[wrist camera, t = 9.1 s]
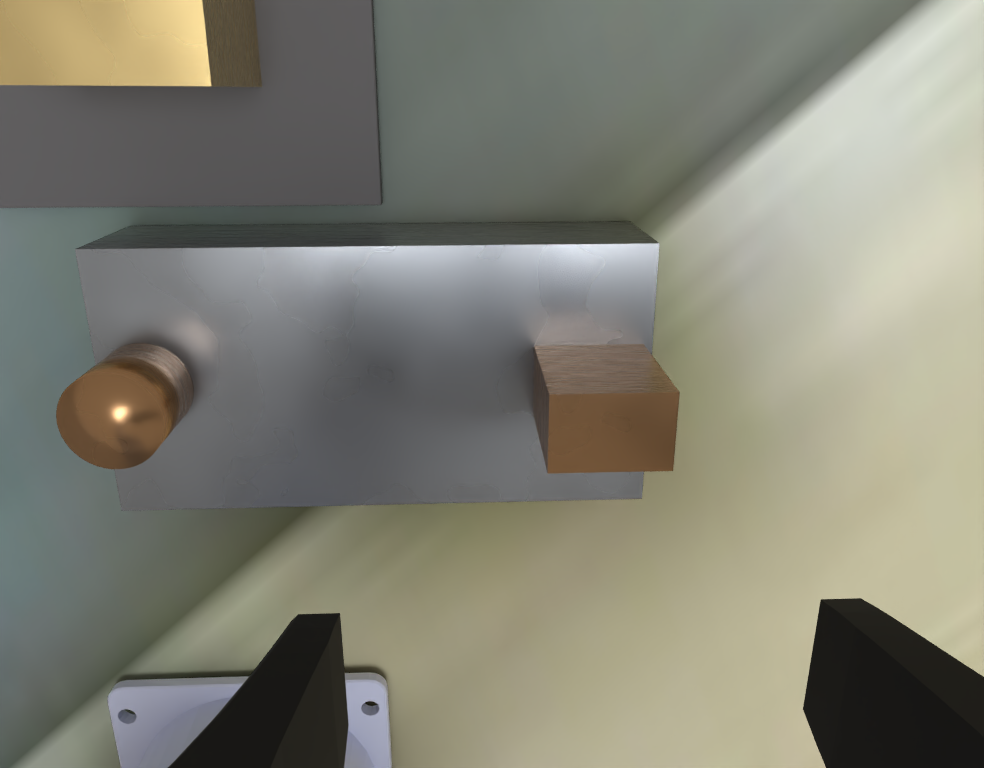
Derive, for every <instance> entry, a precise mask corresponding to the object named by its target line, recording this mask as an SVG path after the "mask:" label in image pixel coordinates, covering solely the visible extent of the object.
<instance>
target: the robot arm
mask: <svg viewBox="0 0 984 768" xmlns="http://www.w3.org/2000/svg"><path fill="white" fill-rule="evenodd" d="M368 701H373V702H375V703H377V705H374V706H369V705H366V704H365V702H368ZM108 707H109V712H110V717H111V721H112V726H113V731H114V736H115V741H116V746H117V751H118V756H119V761H120V765H121V768H392V755H391V737H390V719H389V702H388V685H387V682H386V680H385V679H384V678H383V677H382V676H381V675H379V674H377V673H370V672H368V673H345V672H344V659H343V646H342V634H341V621H340V613H332V614H298V615H297V616H296V617H295V618H294V619H293V620H292V621H291V622H290V624H289V625H288V626H287V628H286V629H285V630H284V632H283V633H282V634H281V636H280V637H279V638H278V640H277V641H276V643H275V644H274V645H273V647H272V648H271V649H270V650H269V652H268V653H267V654H266V656H265V657H264V658H263V660H262V661H261V662H260V663H259V665H258V666H257V667H256V668H255V670H254V671H253V672H252V674H251V675H250V676H242V677H210V678H178V679H147V680H125V681H120V682H118V683H117V684H115V685H114V687H113V688H112V690H111V692H110V694H109V695H108ZM124 709H128V710H132V711H133V712H135V714H131V713H128V712H126V711H125V710H124ZM803 710H804V713H805V715H806V718H807V721H808V723H809V726H810V728H811V731H812V734H813V736H814V739H815V742H816V744H817V747H818V749H819V752H820V754H821V756H822V759H823V761H824V764H825V766H826V768H984V677H983V676H982V675H980V674H978V673H977V672H975V671H974V670H972V669H971V668H969V667H968V666H966V665H964V664H963V663H961V662H960V661H958V660H957V659H955V658H954V657H952V656H951V655H949V654H948V653H946V652H945V651H943V650H941V649H940V648H938V647H937V646H935V645H934V644H932V643H931V642H929V641H928V640H926V639H925V638H923V637H922V636H920V635H919V634H917V633H916V632H914V631H913V630H911V629H910V628H908V627H906V626H905V625H903V624H902V623H900V622H899V621H897V620H896V619H894V618H893V617H891V616H889V615H888V614H886V613H885V612H883V611H881V610H880V609H878V608H876V607H875V606H873V605H871V604H870V603H868V602H866V601H864V600H863V599H861V598H858V599H823V600H821V602H820V608H819V614H818V620H817V626H816V633H815V639H814V645H813V651H812V657H811V663H810V670H809V676H808V682H807V688H806V694H805V700H804V707H803Z"/></svg>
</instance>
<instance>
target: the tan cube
mask: <svg viewBox="0 0 984 768" xmlns="http://www.w3.org/2000/svg"><path fill="white" fill-rule="evenodd" d="M0 85H36V86H186V87H262V81H261V69H260V58H259V46H258V35H257V23H256V12H255V0H0Z"/></svg>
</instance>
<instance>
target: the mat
mask: <svg viewBox="0 0 984 768" xmlns="http://www.w3.org/2000/svg"><path fill="white" fill-rule="evenodd" d="M255 12H256V23H257V35H258V46H259V58H260V69H261V81H262V87H186V86H36V85H0V208H42V207H170V206H298V205H381V204H382V183H381V162H380V141H379V120H378V99H377V78H376V57H375V35H374V14H373V0H255Z"/></svg>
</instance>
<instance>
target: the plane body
mask: <svg viewBox="0 0 984 768" xmlns="http://www.w3.org/2000/svg"><path fill="white" fill-rule="evenodd" d="M75 252H76V258H77V263H78V269H79V274H80V280H81V286H82V291H83V297H84V302H85V308H86V313H87V319H88V325H89V330H90V336H91V341H92V347H93V353H94V358H95V364H96V365H95V366H94V367H93V368H91V369H90V370H89V371H87V372H86V373H85V374H84V375H82V376H81V377H80V378H78V379H77V380H76V381H74V382H73V383H72V384H71V385H69V386H68V387H67V388H66V390H65V391H64V392H63V394H62V395H61V397H60V399H59V402H58V405H57V411H56V418H57V425H58V428H59V431H60V434H61V436H62V438H63V439H64V441H65V443H66V444H67V445H68V446H69V448H70V449H71V450H72V451H73V452H74V453H75V454H77V455H78V456H79V457H81V458H82V459H84V460H85V461H87V462H89V463H91V464H93V465H96V466H99V467H103V468H108V469H114V470H115V475H116V481H117V487H118V492H119V498H120V503H121V509H122V511H129V510H172V509H215V508H259V507H302V506H345V505H389V504H432V503H475V502H519V501H562V500H605V499H642V489H643V475H644V471H673V465H674V453H675V441H676V428H677V416H678V404H679V391H678V390H677V388H676V387H675V386H674V384H673V383H672V382H671V380H670V379H669V378H668V376H667V375H666V374H665V372H664V371H663V369H662V368H661V367H660V365H659V364H658V363H657V361H656V360H655V359H654V357H653V356H652V345H653V330H654V316H655V301H656V287H657V272H658V258H659V243H658V242H657V241H656V240H654V239H653V238H652V237H650V236H649V235H648V234H646V233H645V232H643V231H642V230H641V229H639V228H638V227H637V226H635V225H634V224H633V223H631V222H518V223H404V224H290V225H176V226H129V227H127V228H124V229H122V230H119V231H117V232H115V233H112V234H110V235H108V236H105V237H103V238H100V239H98V240H96V241H93V242H91V243H89V244H86V245H84V246H82V247H79V248H77V249H75Z"/></svg>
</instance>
